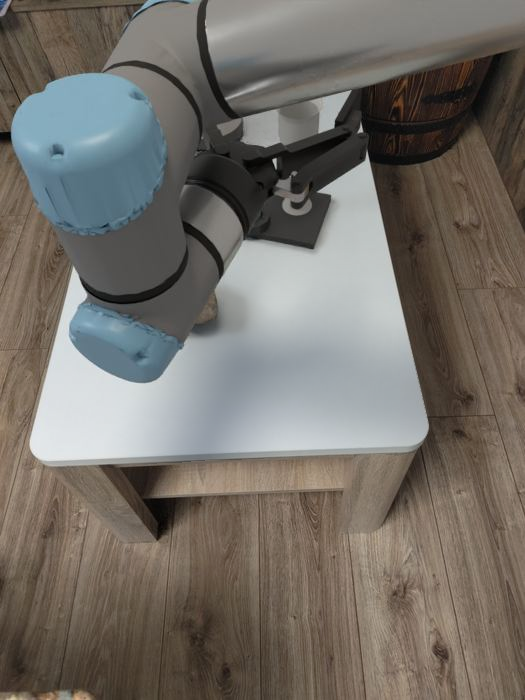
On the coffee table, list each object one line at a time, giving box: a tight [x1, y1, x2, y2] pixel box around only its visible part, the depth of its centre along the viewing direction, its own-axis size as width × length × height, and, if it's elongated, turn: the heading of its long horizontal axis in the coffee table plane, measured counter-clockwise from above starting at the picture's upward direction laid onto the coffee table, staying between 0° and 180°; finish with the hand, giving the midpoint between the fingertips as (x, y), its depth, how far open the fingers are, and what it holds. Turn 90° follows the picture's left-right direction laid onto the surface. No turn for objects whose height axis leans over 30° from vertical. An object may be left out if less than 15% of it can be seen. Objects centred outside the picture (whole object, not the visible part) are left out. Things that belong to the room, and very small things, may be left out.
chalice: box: [275, 97, 325, 215], centre depth 77 cm, size 7×7×18 cm
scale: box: [247, 191, 332, 250], centre depth 83 cm, size 14×13×3 cm
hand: (295, 84), depth 53 cm, fingers open, 13 cm apart
